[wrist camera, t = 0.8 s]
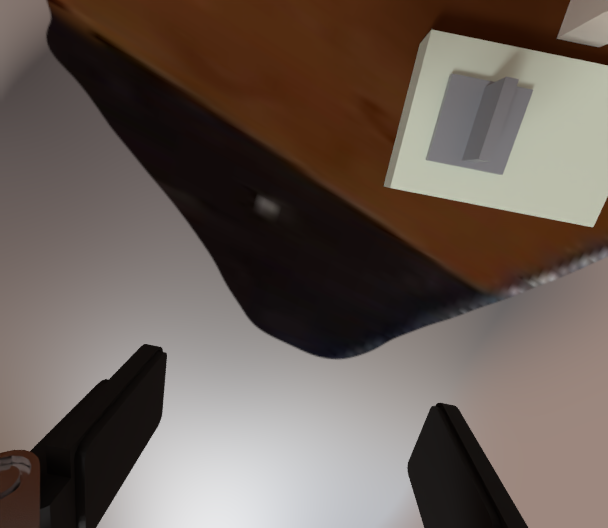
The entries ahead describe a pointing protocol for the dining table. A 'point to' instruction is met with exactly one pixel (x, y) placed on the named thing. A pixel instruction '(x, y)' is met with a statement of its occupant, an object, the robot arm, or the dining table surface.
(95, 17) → the dining table surface
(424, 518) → the robot arm
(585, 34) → the plug
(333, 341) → the dining table surface
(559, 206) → the socket board
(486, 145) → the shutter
